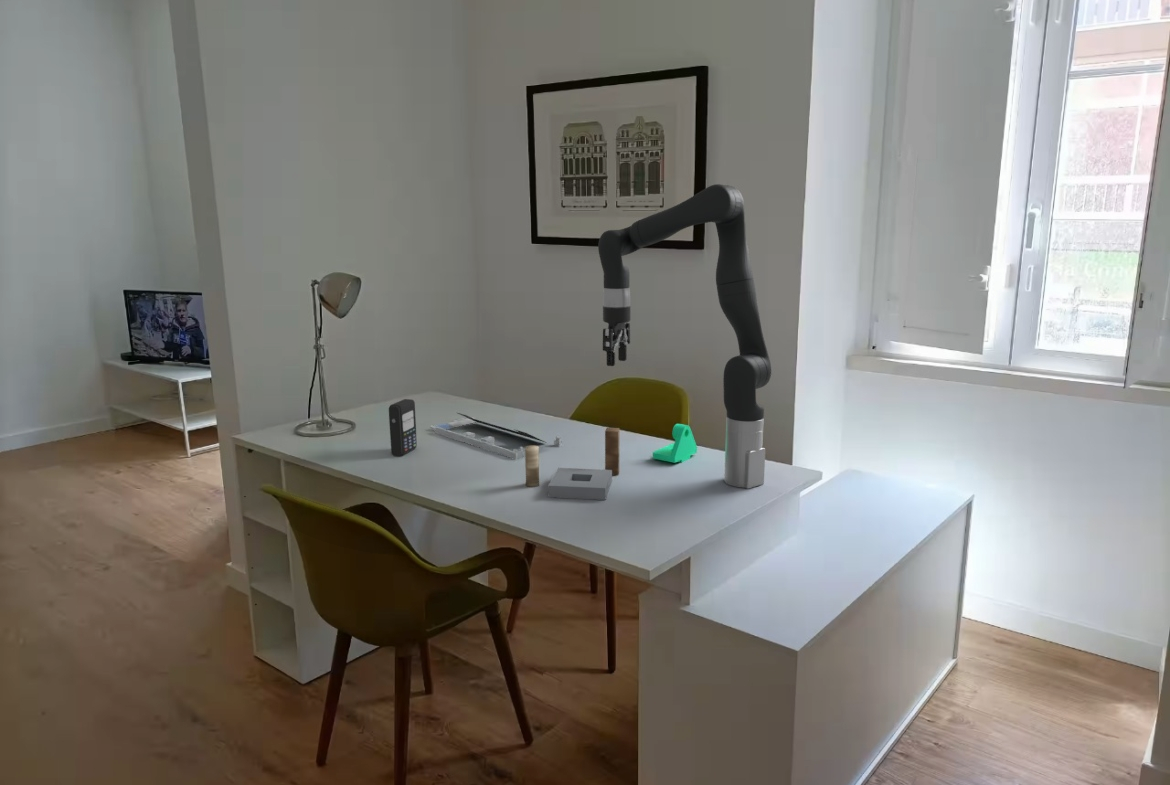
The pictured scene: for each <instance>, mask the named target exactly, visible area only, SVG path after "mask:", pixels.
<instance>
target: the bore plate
mask: <svg viewBox="0 0 1170 785" xmlns="http://www.w3.org/2000/svg"><path fill="white" fill-rule="evenodd" d="M612 482H613V475H612V470H605V469H596V468H594V469H593V468H575V467H574V468H573V467H571V468H570V467H558V468H557V469H556V471H555V473H554V475H553V476H552V479H551V480H550V482H549V483H548V487H547V490H548V491H547V493H548V498H554V497H560V498H561V499H575V500H576V499H579V500H580V499H581V500H600V501H605V500H606V499H607V496H608V494H609V490H610V487H611V485H612ZM560 498H559V499H560Z"/></svg>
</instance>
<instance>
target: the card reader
mask: <svg viewBox="0 0 1170 785" xmlns="http://www.w3.org/2000/svg"><path fill="white" fill-rule="evenodd" d="M388 422H389V423H388V424H389V435H390V450H391V455H393V457H403V456H405V455H407V454H408V453H410V452H413V451H414V450H415V449H416V448H417V445H418V444H417V442H418V441H417V425H416V424H417V420H416V403H415V400H414V399H412V398H411V399H409V398H404V399H402V400H400V401H397V402H394V403H392V404H390V406H389V407H388Z"/></svg>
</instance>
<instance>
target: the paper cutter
mask: <svg viewBox="0 0 1170 785" xmlns="http://www.w3.org/2000/svg"><path fill="white" fill-rule="evenodd" d="M457 414H458V415H461V416H463V417H464V418H458V419H454V420H450V421H448V422H446V423H441V424H437V425H433V424H432V425H430V428H431V429H432V430H433V431H434V432H435V434H437V435H440V436H443V437H446V438H449V439H452V440H455V441H458V442H461V441H462V442H461V443H464V442H465V443H464V444H467V443H468V445H470V444H471V445H470V446H473V445H474V446H473V447H476V446H477V447H476V448H479V447H480V448H479V449H482V448H483V449H482V450H485V449H486V450H485V451H488V450H489V451H488V452H491V451H492V452H491V453H494V452H495V453H494V454H497V453H498V454H497V455H500V454H501V456H503V455H504V456H503V457H506V456H507V458H509V457H510V459H512V458H513V459H512V460H516V459H517V460H520V458H521V459H524V458H525V449H524V447H523V446H519V449H516V448H513V449H509V448H505V447H501V446H499V445H496V444H495V437H494V436H490V435H488V436H485V437H484V436H483V437H481V438H480V439H477V438H476V433H475V432H470V431H466V432H465V431H464V432H460V433H458V432H455V431H451V430H450V429H454V427H456V428H458V427H459V426H460V427H463V426H462V425H464V426H467V425H466V424H469V423H473V422H477V423H478V424H482V425H485V426H489V427H492V428H495V429H498V430H502V431H505V432H509V433H512V434H515V435H519V436H523V437H525V438H526V437H527V438H528V439H529V438H530V439H533V440H536V441H539V442H543V443H546V444H547V442H546V441H544V440H542V439H540V438H539V437H535V436H533V434H532V435H531V434H529V433H528V432H524V431H522V430H521V431H520V430H518V429H513V430H512V429H510V428H506V427H502V426H498V425H496V424H491V423H488V422H485V421H482V420H478V419H476V418H475V417H473V416H472V417H471V416H469V415H466V414H463V413H460V412H457ZM473 424H474V423H473ZM469 425H470V424H469ZM446 429H447V430H446ZM474 437H475V438H474ZM493 444H494V445H493ZM562 444H563V442H562V440H561V437H560V436H558V435H557V436H555V439H554V440H553V446H555V447H558V448H561V447H562V446H563V445H562ZM523 457H524V458H523Z"/></svg>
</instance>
